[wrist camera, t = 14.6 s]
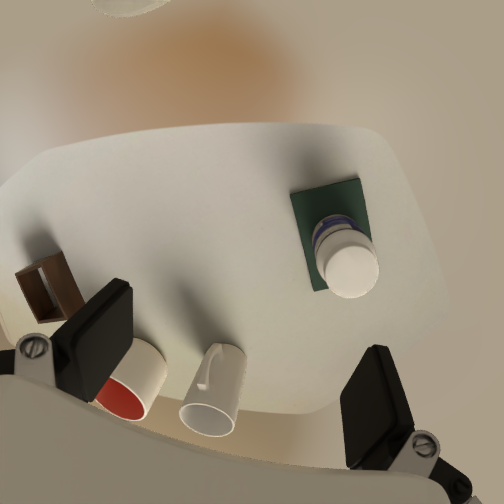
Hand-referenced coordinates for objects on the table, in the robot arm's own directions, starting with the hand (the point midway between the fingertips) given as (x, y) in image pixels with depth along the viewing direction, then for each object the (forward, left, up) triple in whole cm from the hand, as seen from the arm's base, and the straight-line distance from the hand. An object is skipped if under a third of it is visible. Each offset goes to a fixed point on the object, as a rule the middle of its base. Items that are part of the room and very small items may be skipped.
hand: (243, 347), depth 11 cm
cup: (+17, -27, -24) cm, 40 cm away
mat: (+4, +6, -24) cm, 25 cm away
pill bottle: (+4, +6, -23) cm, 24 cm away
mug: (+17, -12, -24) cm, 32 cm away
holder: (+1, -38, -24) cm, 45 cm away
